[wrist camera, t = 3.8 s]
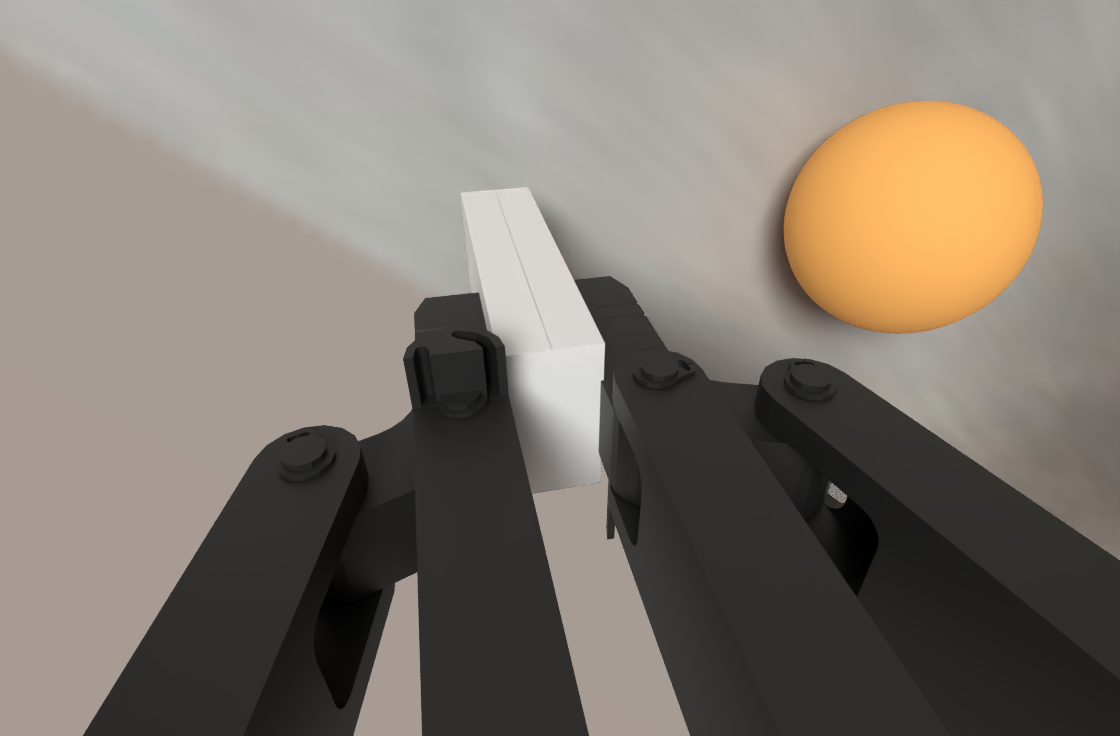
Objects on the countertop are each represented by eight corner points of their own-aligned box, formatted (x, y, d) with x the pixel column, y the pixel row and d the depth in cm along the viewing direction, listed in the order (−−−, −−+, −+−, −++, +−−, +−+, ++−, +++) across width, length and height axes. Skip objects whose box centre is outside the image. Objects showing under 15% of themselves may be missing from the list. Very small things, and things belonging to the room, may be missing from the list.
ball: (960, 74, 16) (1164, 126, 12) (897, 264, 20) (1041, 361, 15) (766, 85, 16) (910, 147, 11) (733, 282, 19) (835, 391, 14)
